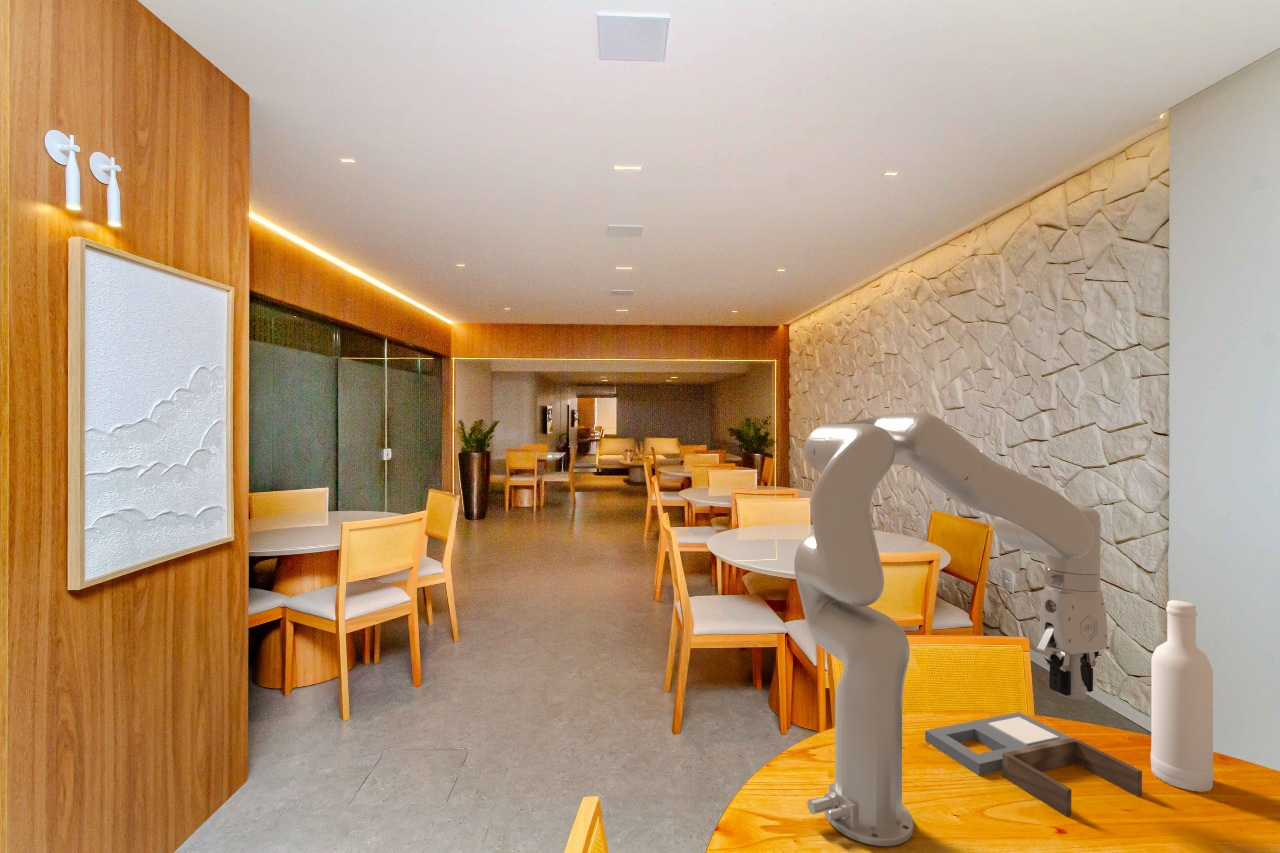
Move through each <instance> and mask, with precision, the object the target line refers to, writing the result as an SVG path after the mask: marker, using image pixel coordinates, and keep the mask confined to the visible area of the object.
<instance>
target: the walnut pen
mask: <svg viewBox="0 0 1280 853" xmlns="http://www.w3.org/2000/svg"><path fill="white" fill-rule="evenodd" d="M1072 765H1077V766H1079V767H1080V768H1082V769H1084V770H1086V771H1088V772H1091V773H1092V774H1094V775H1096V776H1098V777H1099V778H1102V779H1104V780H1106V781H1107V782H1108V783H1111V784H1113V785H1115V786H1117V787H1118V788H1120V789H1121V790H1124V791H1126V792H1127V793H1130V794H1132V795H1133V796H1135V795H1136V796H1135V797H1137V796H1138V798H1139V797H1141V795H1142V796H1143V770H1141V769H1139V768H1137V767H1135V766H1133V765H1131V764H1128V763H1127V762H1125V761H1122V760H1121V759H1118V758H1117V757H1114V756H1113V755H1110V754H1109V753H1106V752H1104V751H1102V750H1100V749H1098V748H1096V747H1094V746H1092V745H1091V744H1088V743H1085V742H1084V741H1081V740H1079V739H1077V738H1075V737H1071V738H1070V739H1065V740H1061V741H1056V742H1052V743H1047V744H1043V745H1038V746H1034V747H1029V748H1025V749H1020V750H1016V751H1011V752H1007V753H1003V754H1002V770H1001V771H1002V778H1003V779H1005V780H1006V781H1009V782H1010V783H1012V784H1013V785H1015V786H1016V787H1019V789H1022V790H1023V791H1025V792H1026V793H1028V794H1029V795H1031V796H1033V798H1036V799H1038V800H1039V801H1041V802H1042V803H1044V804H1045V805H1047V806H1048V807H1050V808H1053V810H1056V811H1057V812H1059V813H1060V814H1061V815H1063V816H1064V817H1071V816H1072V788H1070V787H1069V786H1067V785H1065V784H1063V783H1061V782H1060V781H1057V779H1054V778H1053V777H1051V776H1049V775H1047V774H1046V773H1044V772H1046V771H1051V770H1055V769H1060V768H1064V767H1068V766H1072Z"/></svg>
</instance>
